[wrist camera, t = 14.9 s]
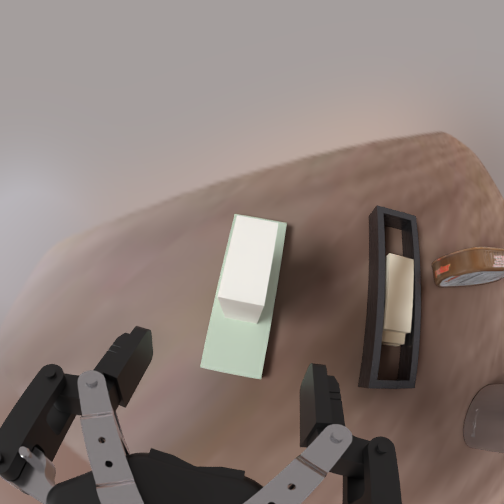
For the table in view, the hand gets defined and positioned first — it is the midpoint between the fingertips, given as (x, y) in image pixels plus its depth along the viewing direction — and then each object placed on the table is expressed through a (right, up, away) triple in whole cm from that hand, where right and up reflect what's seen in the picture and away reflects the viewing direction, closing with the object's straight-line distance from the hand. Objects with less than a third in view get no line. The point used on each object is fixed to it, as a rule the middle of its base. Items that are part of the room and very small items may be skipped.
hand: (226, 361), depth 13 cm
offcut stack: (+16, 0, +15) cm, 22 cm away
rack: (+16, 0, +15) cm, 22 cm away
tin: (+29, +2, +16) cm, 33 cm away
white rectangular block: (+1, +2, +14) cm, 14 cm away
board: (+1, +1, +15) cm, 15 cm away
